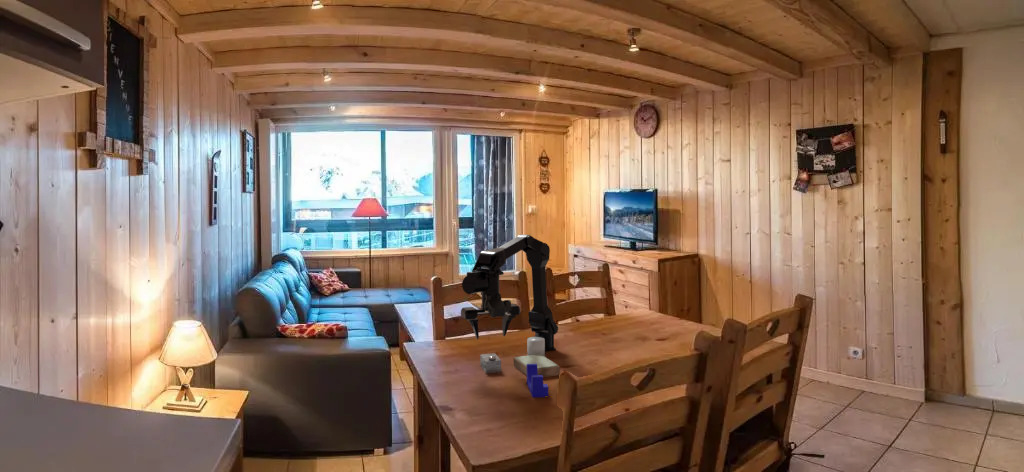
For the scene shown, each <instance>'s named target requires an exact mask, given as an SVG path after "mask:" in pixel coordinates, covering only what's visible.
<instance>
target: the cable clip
mask: <svg viewBox="0 0 1024 472" xmlns="http://www.w3.org/2000/svg"><path fill="white" fill-rule="evenodd" d="M526 385H527V387H528V390H529V392H530V395H531V397H533V398H546V397H545V396H548V397H549V386H548V384H547V383H544V377H543V376H542V375H538V372H537V364H527V376H526Z"/></svg>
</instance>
